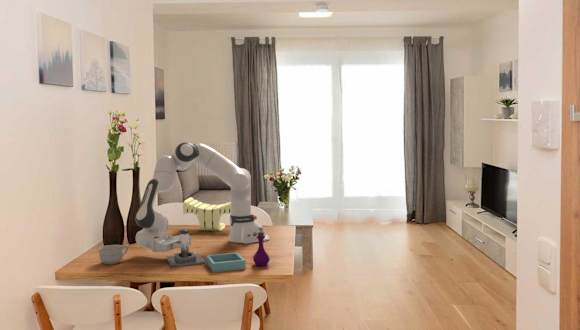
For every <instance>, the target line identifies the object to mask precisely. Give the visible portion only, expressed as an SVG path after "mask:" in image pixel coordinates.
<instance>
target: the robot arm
mask: <svg viewBox="0 0 580 330" xmlns="http://www.w3.org/2000/svg"><path fill="white" fill-rule="evenodd" d="M193 163H195V164H197V165H198V164H199V165H200V166H201V167H203V168H204V169H206V170H207V171H208V172H210V173H212V174H213V175H214V176H216V177H218V178H219V180H221V181H222V182H223V183H224V184H226V185H227V186H229V188H230V202H231V214H230V215H229V224H230V231H229V237H228V242H230V243H236V244H238V243H239V244H245V245H246V244H253V243H259V240H258V238H256V237H257V236H258V233H259V232H260V231H259V229H258V228H259V227H263V226H262V225H261V224H260V223H258V222H257V221H256V220H257V219H258V216H257V215H254V214H252V188H251V187H252V175H251V174H250V171H249V170H248V169H246V168H243V167H239V166H237V165H236V164H235V163H234V162H232V161H231V160H230V159H228V158H227V157H226V156H225V155H223V154H222V153H220V152H218V150H216V149H214V148H212V147H211V146H209V145H208V144H207V145H206V144H204V143H201V142H200V143H196V144H193V143H191V142H186V141H185V142H181V143H180V144H178V145H177V146H176V148H175V149H174V151H173V154H172V155H162V156H160V157H158V159H157V161H156V164H155V168H154V171H153V175H152V179H150V180H149V181H148V183H147V185H146V187H145V190H144V193H143V195H142V199H141V203H140V205H139V208H138V209H137V211H136V214H135V217H134V218H135V223H136V225H137V226H138V227H140V228H142V229H141V230H139V231H137V232H136V235H135V242H136V244H137V245H138V246H139V247H141V248H143V249H148V250H151V251H152V253H158V252H159V253H165V252H166V253H167V252H169V251H171V250H174V249H181V248H183V247H184V246H183V244H181V243H180V235H179V234H178V235H174V236H172V235H171V233H168V232H167V230H168V228H169V220H168V218H167V217H166V216H164V215H162V214H161V213H159V212H157V211H155V209H154V205H155V201H156V197H157V194H158V193H167V192H169V191H170V190H172V189H173V187H174V185H175V180H176V174H177V173H185V172H187V171H188V170H189V169H190V167H191V166H192V165H193ZM262 232H264V236H265V238H264V239H263V242H266V241H270V236H269V235H268V234H266V230H265V228H263V230H262ZM191 243H192V236H190V235H189V246H191Z"/></svg>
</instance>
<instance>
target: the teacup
mask: <svg viewBox="0 0 580 330" xmlns="http://www.w3.org/2000/svg"><path fill="white" fill-rule="evenodd" d="M124 248H125V250H124V252H123V249H124ZM128 251H129V246H128V245H127V244H123V245H121V244H110V245H103V246H100V247H99V248H98V253H99V260H100V262H101V263H103V264H104V265H115V264H118V263H120V261H121V260H122V259H123V256H125V255H126V254H127V253H128Z"/></svg>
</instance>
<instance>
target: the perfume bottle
mask: <svg viewBox="0 0 580 330" xmlns="http://www.w3.org/2000/svg"><path fill="white" fill-rule="evenodd" d="M263 228H264V227H263V226H262V227H259V228H258V229H259V231H260V232H259V233H258V236H257V237H256V238H258V240H259V242H258V247H257V250H256V252H255V253H254V255H252V259H253V262H254V264H255V266H256V267H266V266H267V265H268V264H269V262H270V259H271V258H270V255H269V254H268V253H267V251H266V250H265V247H264V241H263V239H264V238H265V236H264V232H262V230H263ZM264 229H265V228H264Z"/></svg>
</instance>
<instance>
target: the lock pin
mask: <svg viewBox="0 0 580 330" xmlns="http://www.w3.org/2000/svg"><path fill="white" fill-rule="evenodd" d="M189 233H190V230H189V229H187V228H184V229H183V228H182V229H180V230H179V234H180V243H181V244H183V246H184V247H183V248H180V253H181V257H186V256H189V252H190V245H189V236H190V234H189Z"/></svg>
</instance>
